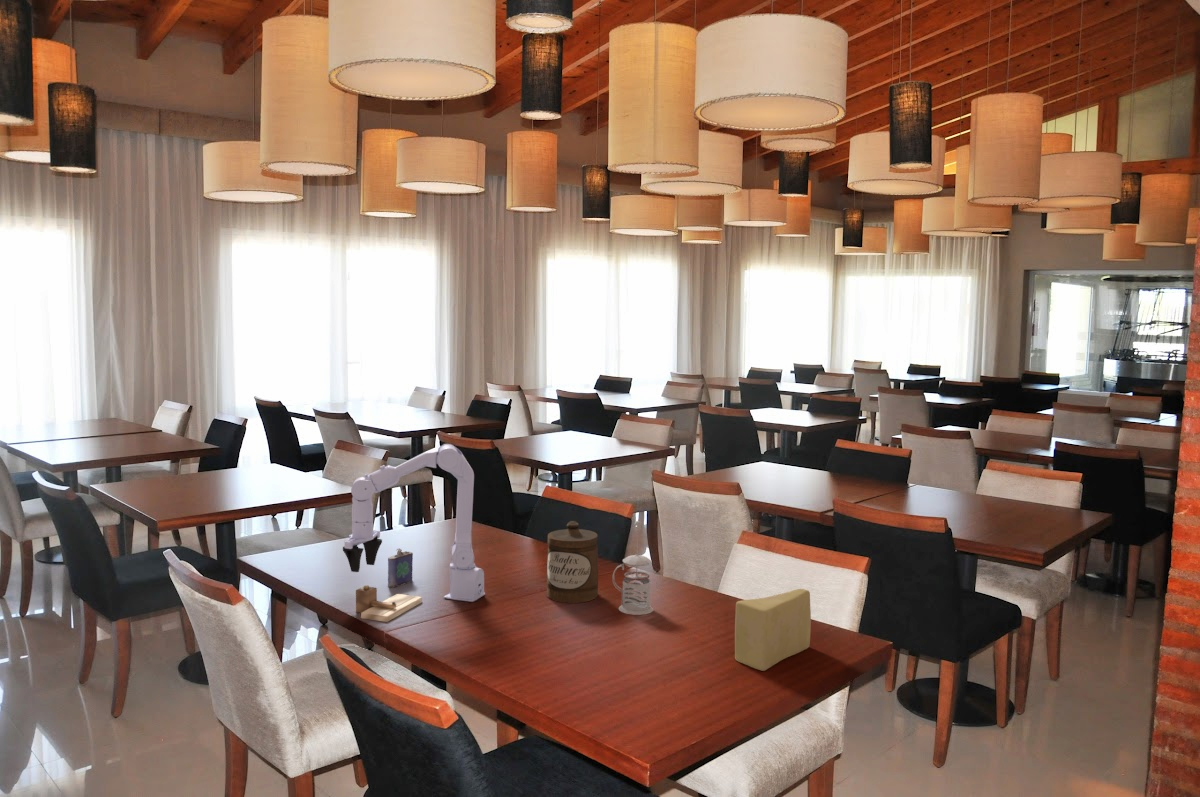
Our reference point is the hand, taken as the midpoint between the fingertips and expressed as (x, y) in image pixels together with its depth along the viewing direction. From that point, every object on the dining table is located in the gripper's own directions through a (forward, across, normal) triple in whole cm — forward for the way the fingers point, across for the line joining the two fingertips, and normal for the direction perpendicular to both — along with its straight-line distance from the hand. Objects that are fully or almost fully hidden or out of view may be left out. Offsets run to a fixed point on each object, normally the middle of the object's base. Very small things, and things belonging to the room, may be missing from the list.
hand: (362, 568), depth 261 cm
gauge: (+9, +7, +9) cm, 15 cm away
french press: (+10, -22, +73) cm, 77 cm away
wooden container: (+10, -27, +53) cm, 60 cm away
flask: (+10, -18, +1) cm, 20 cm away
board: (+9, +4, +12) cm, 16 cm away
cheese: (+10, -1, +116) cm, 117 cm away
